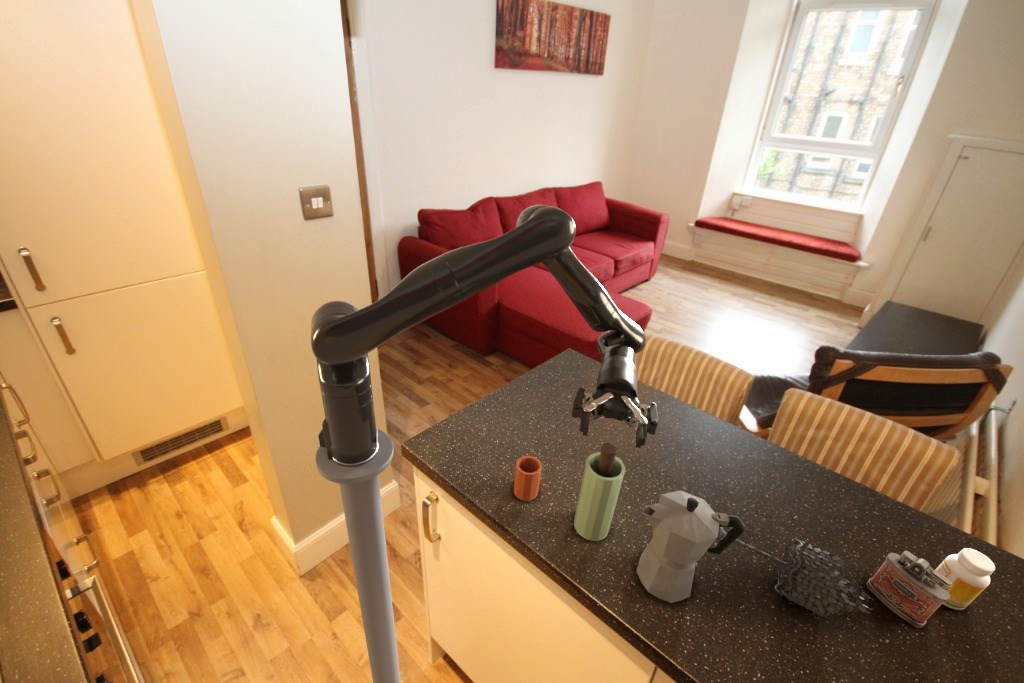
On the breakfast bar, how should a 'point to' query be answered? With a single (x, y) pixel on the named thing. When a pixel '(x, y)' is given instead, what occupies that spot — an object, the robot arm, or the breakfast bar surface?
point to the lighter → (910, 587)
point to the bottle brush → (606, 460)
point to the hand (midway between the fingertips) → (612, 437)
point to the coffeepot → (681, 543)
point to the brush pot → (527, 478)
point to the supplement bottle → (966, 576)
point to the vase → (597, 499)
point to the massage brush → (813, 578)
